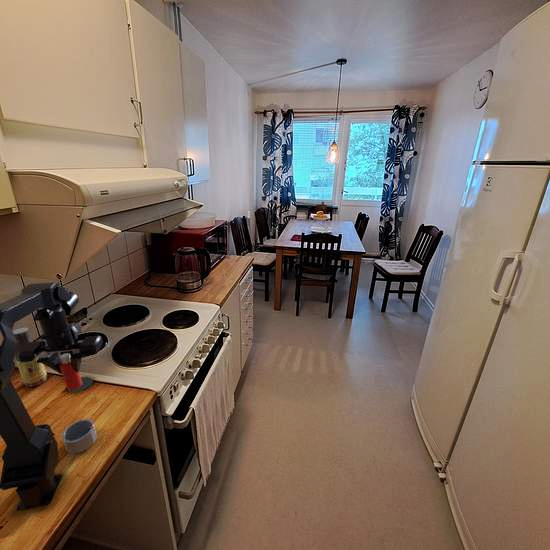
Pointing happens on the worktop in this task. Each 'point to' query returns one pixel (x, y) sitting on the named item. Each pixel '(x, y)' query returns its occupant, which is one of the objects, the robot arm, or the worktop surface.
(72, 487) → the worktop surface
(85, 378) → the coaster
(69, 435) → the short metal can
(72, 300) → the robot arm
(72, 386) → the ketchup
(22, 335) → the sauce bottle
